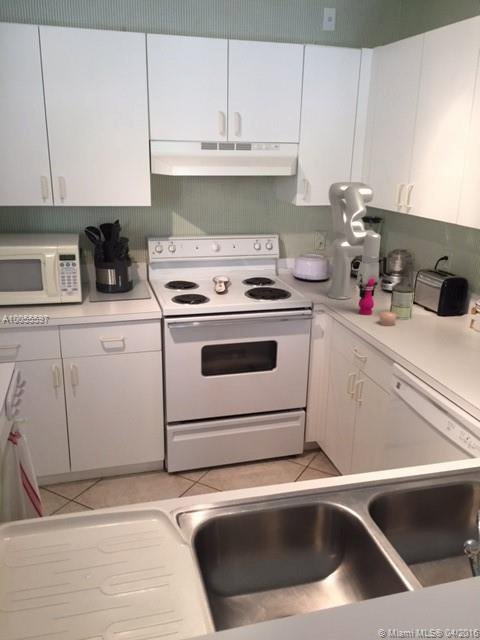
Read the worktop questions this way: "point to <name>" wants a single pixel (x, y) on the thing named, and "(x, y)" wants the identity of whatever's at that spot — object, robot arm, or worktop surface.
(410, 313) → the green cylindrical container
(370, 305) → the pepper mill
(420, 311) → the worktop surface
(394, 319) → the pale pink round lump
